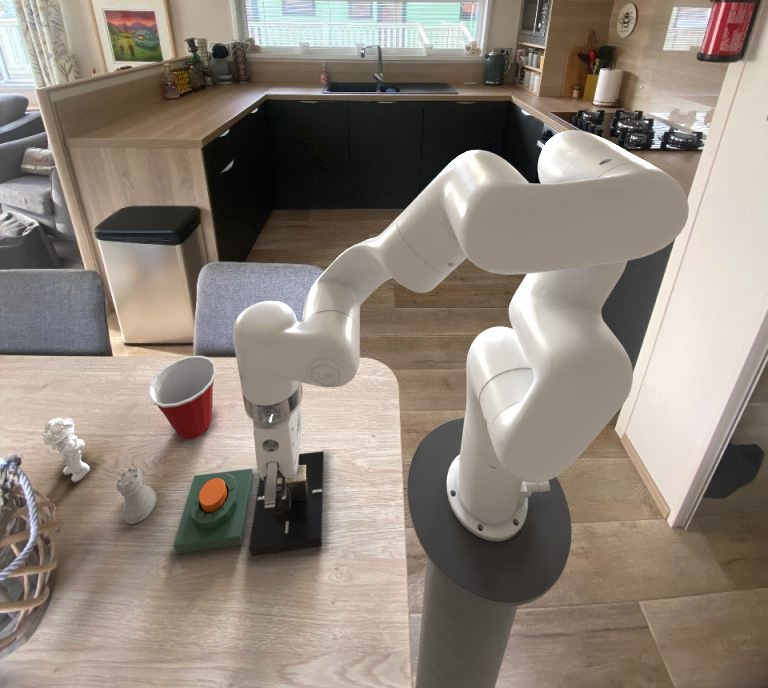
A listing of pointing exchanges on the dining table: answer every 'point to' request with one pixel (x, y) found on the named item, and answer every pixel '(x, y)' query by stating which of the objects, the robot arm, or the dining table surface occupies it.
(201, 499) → the button
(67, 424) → the hat wearing toy figure
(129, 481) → the rook chess piece
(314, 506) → the panel
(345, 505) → the dining table surface
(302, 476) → the knob
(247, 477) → the button block
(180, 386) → the plastic cup
